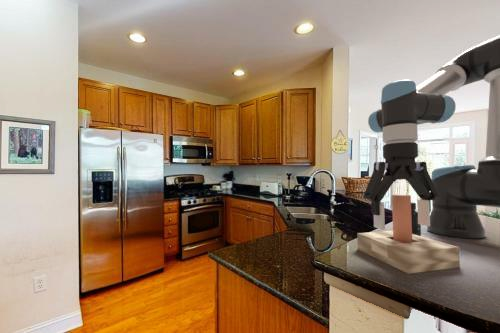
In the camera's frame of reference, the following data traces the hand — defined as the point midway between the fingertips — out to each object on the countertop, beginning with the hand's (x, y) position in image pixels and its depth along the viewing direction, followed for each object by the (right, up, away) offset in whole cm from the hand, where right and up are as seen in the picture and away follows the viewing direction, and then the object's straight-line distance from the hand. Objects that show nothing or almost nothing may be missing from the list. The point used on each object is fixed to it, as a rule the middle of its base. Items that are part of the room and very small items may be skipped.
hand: (402, 226), depth 58 cm
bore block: (0, -8, 0) cm, 8 cm away
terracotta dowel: (0, -6, 0) cm, 6 cm away
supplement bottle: (+10, -8, +13) cm, 19 cm away
